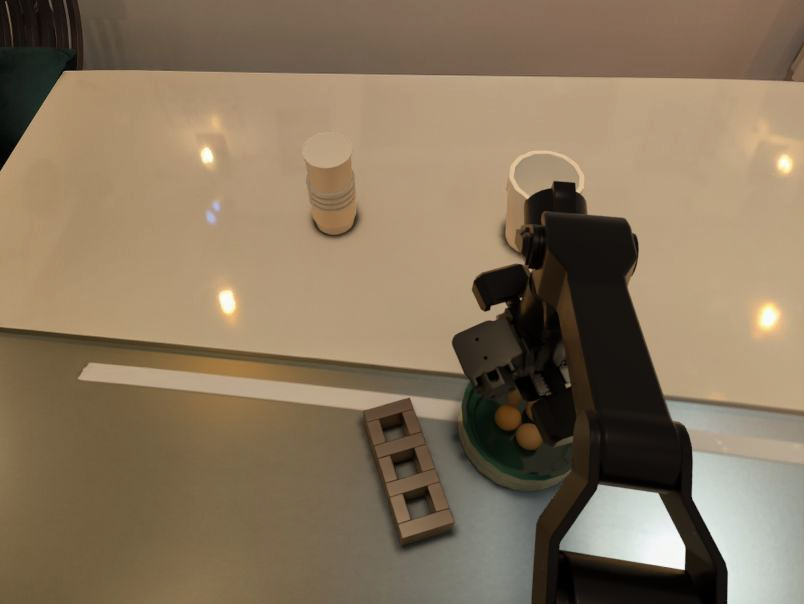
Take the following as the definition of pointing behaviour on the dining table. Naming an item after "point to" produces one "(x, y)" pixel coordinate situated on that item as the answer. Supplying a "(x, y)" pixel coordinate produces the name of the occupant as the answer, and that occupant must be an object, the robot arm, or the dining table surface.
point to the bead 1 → (507, 417)
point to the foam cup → (535, 183)
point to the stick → (514, 398)
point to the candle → (330, 181)
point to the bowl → (508, 447)
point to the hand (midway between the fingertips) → (520, 381)
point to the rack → (412, 485)
